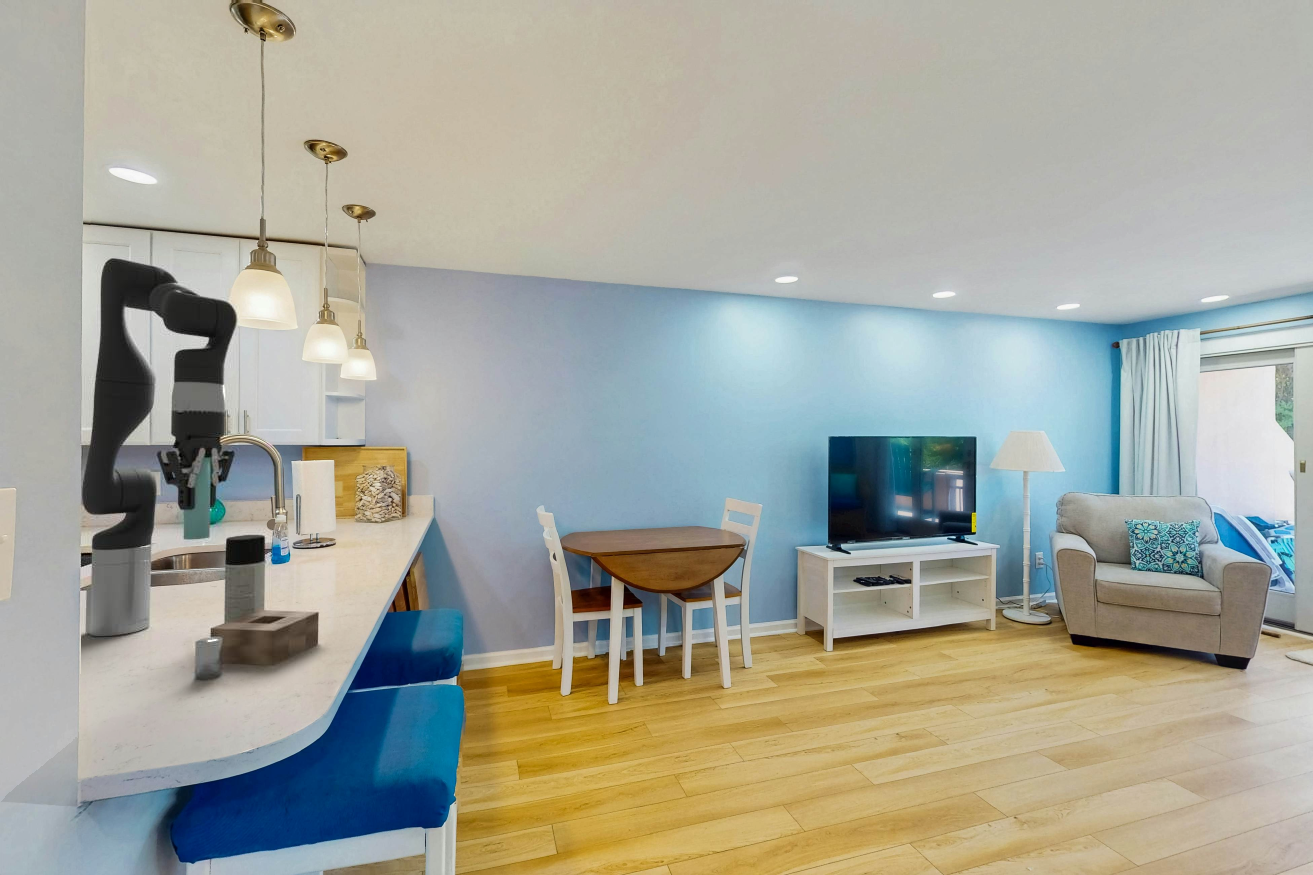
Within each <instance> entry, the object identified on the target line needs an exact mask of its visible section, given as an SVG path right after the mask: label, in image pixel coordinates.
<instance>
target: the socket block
mask: <svg viewBox="0 0 1313 875" xmlns="http://www.w3.org/2000/svg"><path fill="white" fill-rule="evenodd" d="M319 613H320V612H319V611H300V610H299V611H298V610H297V611H295V610H270V609H269V610H267V609H264V610H260V611H257V612H254V613H251V614H249V615H246V616H243V617H240V618H238V619H235V620H232V621H229V622H227V623H221V624H218V625H216V626H213V627H210V636H209V637H222V664H235V665H236V664H237V665H238V664H239V665H243V664H244V665H260V666H261V665H265V666H276V665H277V664H279V663H281V662H283V661H285V660H288V659H289V658H292V657H293V656H296V655H297V654H299V653H301V652H303V651H305V650H307V649H309V648H311V647H313V646H315V645H317V644H318V643H319V618H320V616H319Z"/></svg>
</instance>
